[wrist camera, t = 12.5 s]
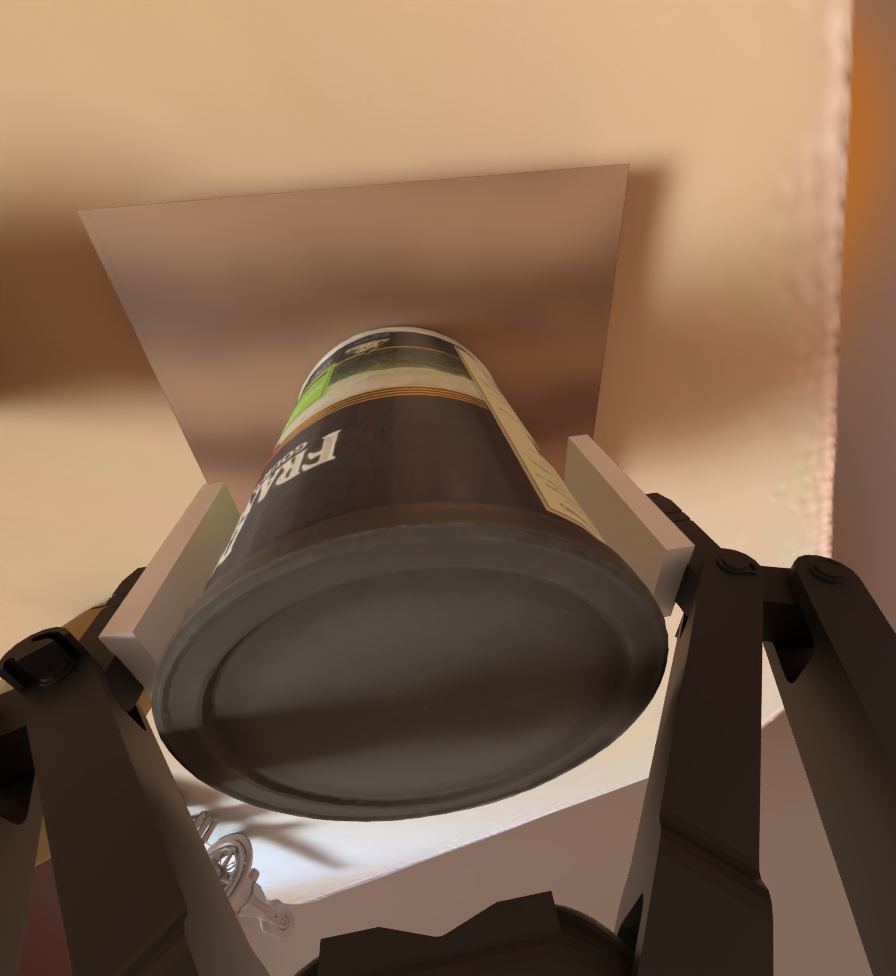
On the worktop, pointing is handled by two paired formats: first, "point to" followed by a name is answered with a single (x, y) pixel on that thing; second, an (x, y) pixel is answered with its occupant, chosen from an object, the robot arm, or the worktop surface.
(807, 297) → the worktop surface
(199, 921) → the robot arm
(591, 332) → the walnut block
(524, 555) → the coffee can
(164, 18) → the worktop surface
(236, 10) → the worktop surface
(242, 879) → the spaceship
